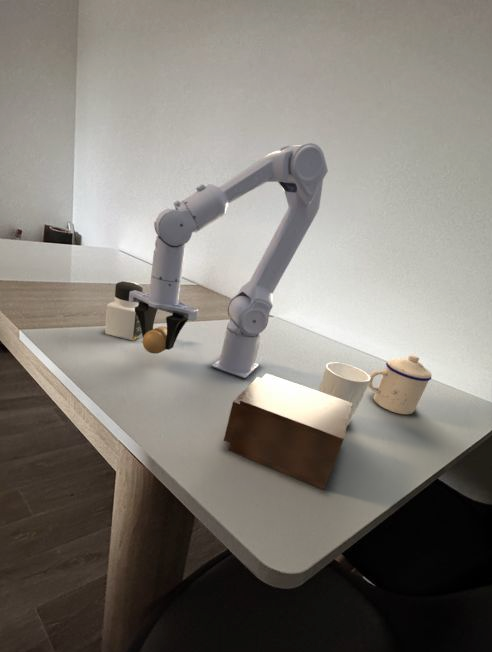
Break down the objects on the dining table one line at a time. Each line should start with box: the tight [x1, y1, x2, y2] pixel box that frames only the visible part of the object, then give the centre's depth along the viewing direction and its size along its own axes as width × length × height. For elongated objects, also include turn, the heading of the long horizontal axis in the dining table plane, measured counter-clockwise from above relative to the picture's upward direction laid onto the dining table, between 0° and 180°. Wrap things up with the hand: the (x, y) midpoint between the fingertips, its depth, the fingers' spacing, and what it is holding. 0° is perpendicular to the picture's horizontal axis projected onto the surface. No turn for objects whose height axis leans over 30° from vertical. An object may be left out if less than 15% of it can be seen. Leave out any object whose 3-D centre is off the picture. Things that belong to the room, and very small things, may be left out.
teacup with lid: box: [367, 354, 433, 415], centre depth 83 cm, size 12×9×12 cm
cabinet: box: [227, 372, 353, 491], centre depth 60 cm, size 15×13×9 cm
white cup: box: [318, 362, 371, 427], centre depth 72 cm, size 8×8×10 cm
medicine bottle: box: [104, 280, 144, 341], centre depth 91 cm, size 7×7×12 cm
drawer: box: [223, 376, 262, 444], centre depth 61 cm, size 15×11×7 cm
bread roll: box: [142, 326, 167, 355], centre depth 80 cm, size 8×5×5 cm, turn 156°
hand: (157, 344), depth 80 cm, fingers closed on bread roll, 5 cm apart
